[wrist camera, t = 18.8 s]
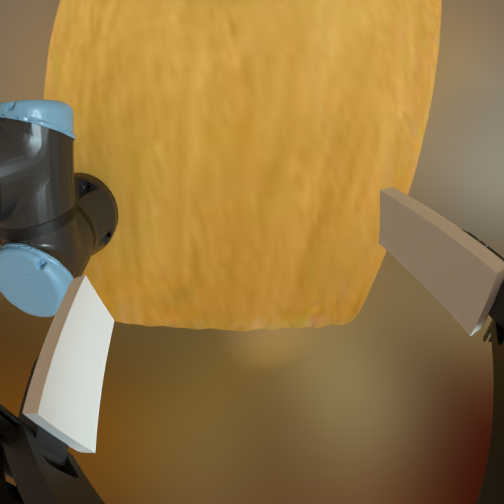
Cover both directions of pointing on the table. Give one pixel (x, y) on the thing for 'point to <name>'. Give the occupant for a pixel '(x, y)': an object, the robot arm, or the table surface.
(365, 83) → the table surface
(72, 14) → the table surface
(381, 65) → the table surface
